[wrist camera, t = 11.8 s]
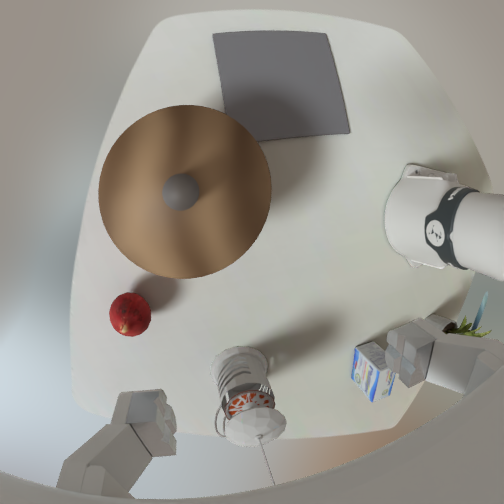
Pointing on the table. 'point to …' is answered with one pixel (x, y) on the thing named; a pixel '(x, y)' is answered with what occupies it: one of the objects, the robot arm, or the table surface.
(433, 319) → the house plant
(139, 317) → the red pomegranate
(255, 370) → the french press
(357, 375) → the medicine box
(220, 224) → the lid
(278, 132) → the mat
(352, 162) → the table surface
